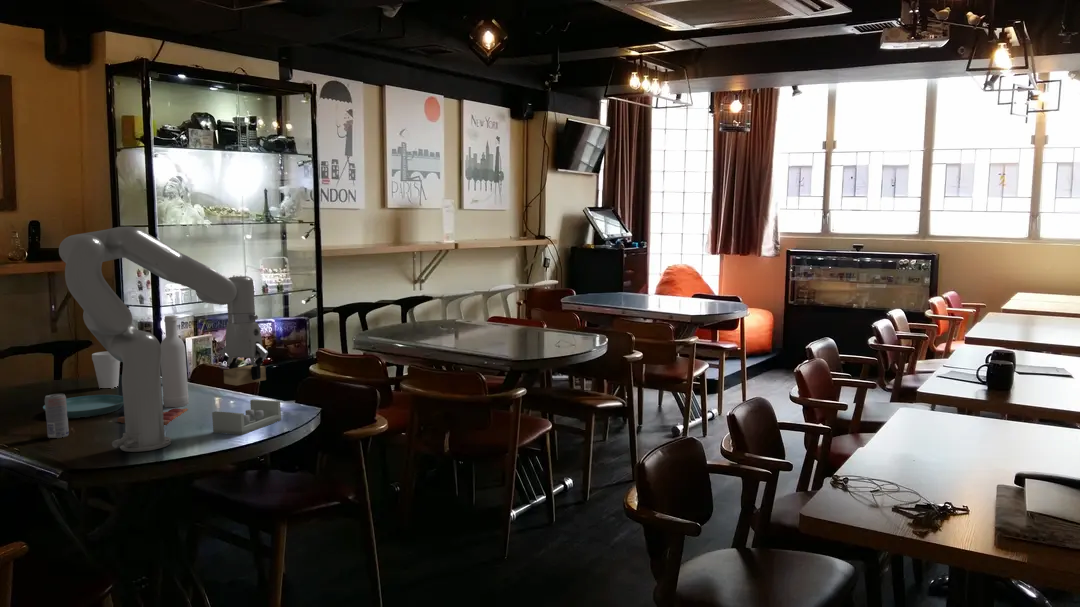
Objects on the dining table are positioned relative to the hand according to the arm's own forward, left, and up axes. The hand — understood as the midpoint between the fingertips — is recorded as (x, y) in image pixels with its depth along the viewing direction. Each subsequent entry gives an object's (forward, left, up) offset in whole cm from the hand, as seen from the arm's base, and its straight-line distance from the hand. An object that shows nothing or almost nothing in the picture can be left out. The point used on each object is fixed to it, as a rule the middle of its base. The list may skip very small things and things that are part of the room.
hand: (245, 378), depth 251 cm
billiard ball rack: (+4, +35, -15) cm, 38 cm away
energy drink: (-24, +47, -15) cm, 55 cm away
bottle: (+19, +44, -15) cm, 50 cm away
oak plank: (0, 0, -1) cm, 1 cm away
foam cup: (+38, +93, -15) cm, 102 cm away
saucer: (+4, +67, -15) cm, 69 cm away
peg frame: (0, 0, -14) cm, 14 cm away
